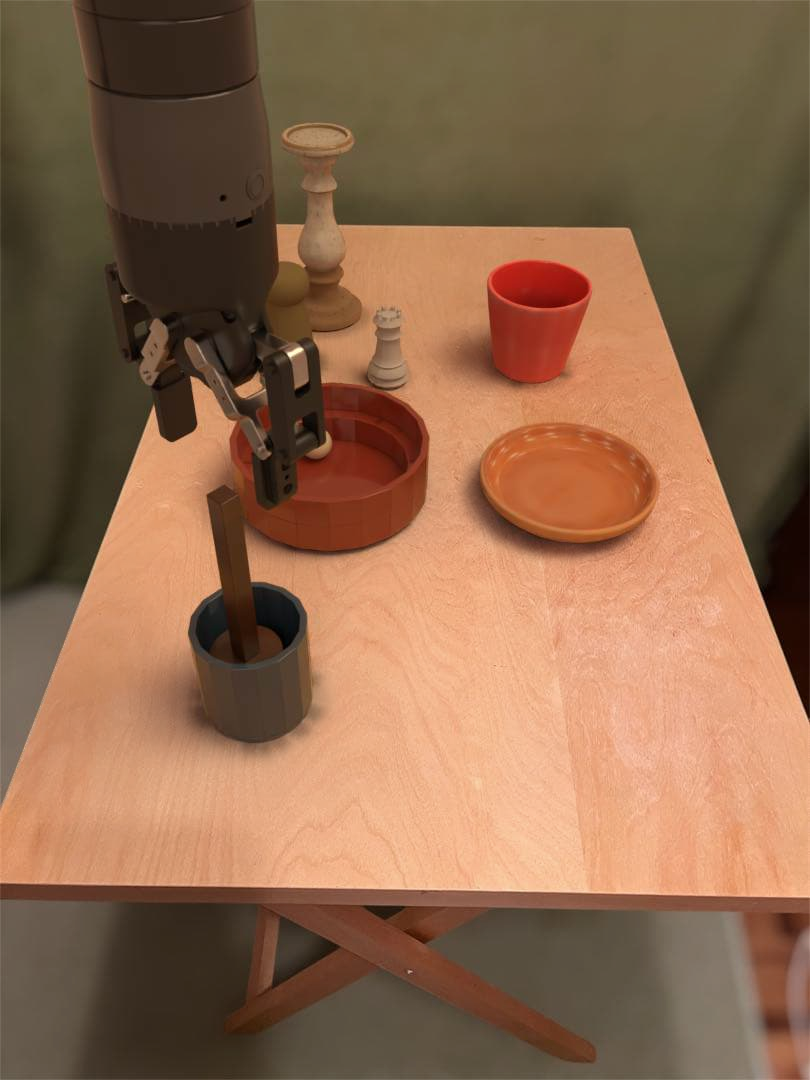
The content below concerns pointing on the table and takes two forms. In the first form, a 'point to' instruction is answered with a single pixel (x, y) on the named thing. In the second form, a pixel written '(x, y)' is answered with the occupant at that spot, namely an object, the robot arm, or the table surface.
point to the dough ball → (321, 449)
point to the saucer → (568, 481)
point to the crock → (254, 668)
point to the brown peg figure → (289, 303)
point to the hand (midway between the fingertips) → (226, 466)
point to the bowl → (345, 474)
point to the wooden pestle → (236, 586)
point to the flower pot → (535, 317)
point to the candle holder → (322, 224)
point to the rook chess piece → (388, 351)
